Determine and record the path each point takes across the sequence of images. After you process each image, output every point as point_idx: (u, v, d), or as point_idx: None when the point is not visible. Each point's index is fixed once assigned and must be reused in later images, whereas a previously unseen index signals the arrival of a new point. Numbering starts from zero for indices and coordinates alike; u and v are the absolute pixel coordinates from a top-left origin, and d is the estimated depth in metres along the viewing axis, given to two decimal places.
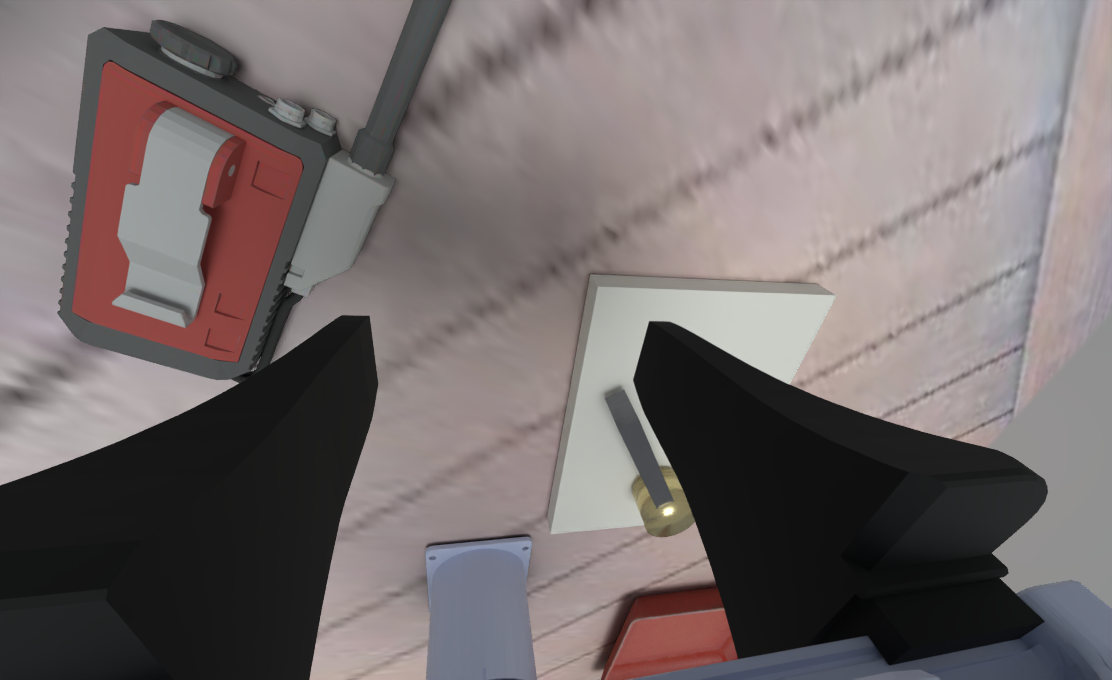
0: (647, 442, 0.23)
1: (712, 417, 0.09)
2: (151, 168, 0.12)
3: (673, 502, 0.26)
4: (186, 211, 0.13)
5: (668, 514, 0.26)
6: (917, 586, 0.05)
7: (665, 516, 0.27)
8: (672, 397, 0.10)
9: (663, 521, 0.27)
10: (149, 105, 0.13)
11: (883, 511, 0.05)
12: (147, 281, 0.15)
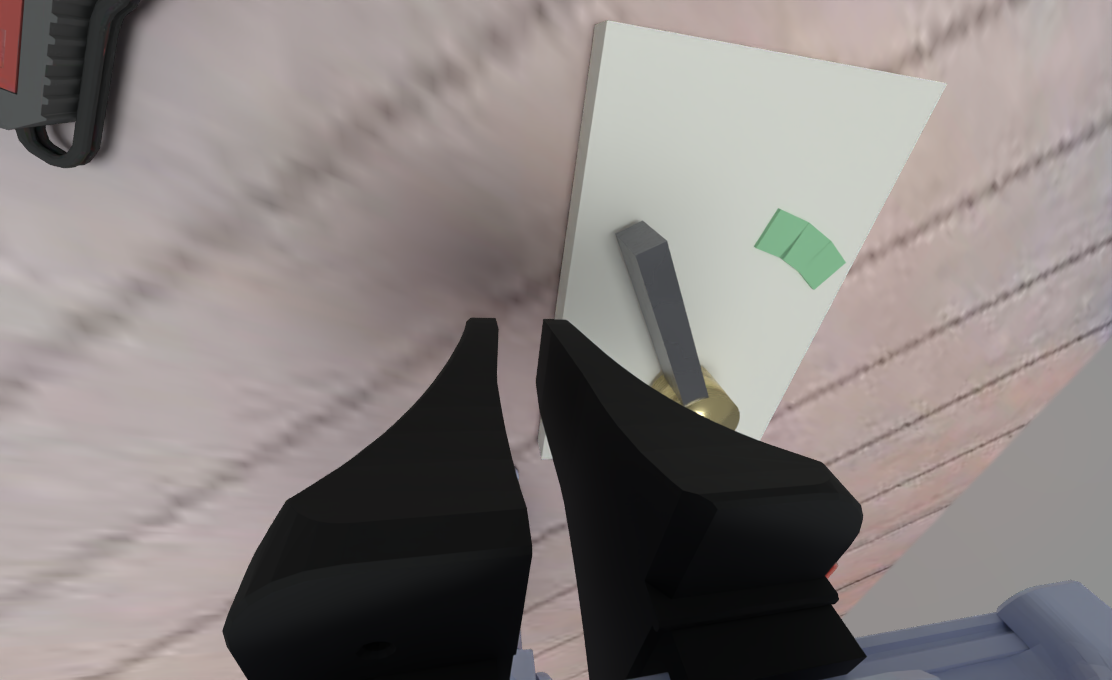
0: (677, 287, 0.16)
1: (578, 422, 0.08)
2: None
3: (707, 398, 0.19)
4: None
5: None
6: (723, 617, 0.05)
7: None
8: (556, 399, 0.09)
9: None
10: None
11: (670, 533, 0.05)
12: None
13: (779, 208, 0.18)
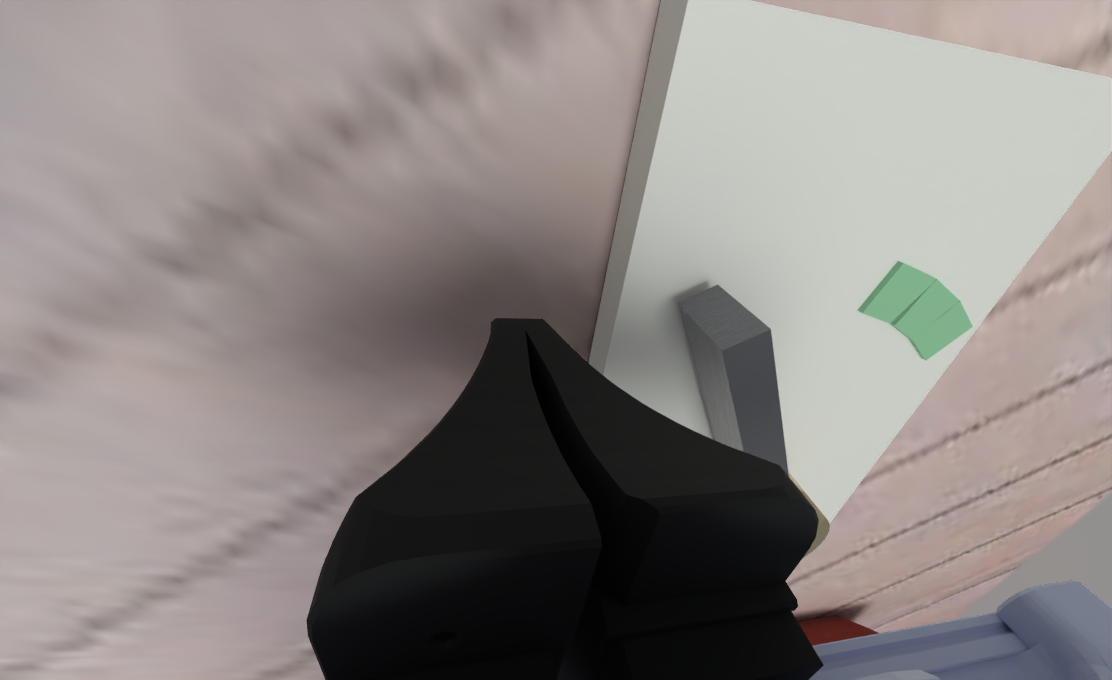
0: (775, 389, 0.11)
1: (547, 423, 0.08)
2: None
3: None
4: None
5: None
6: (676, 625, 0.05)
7: None
8: None
9: None
10: None
11: (618, 539, 0.04)
12: None
13: (900, 261, 0.13)
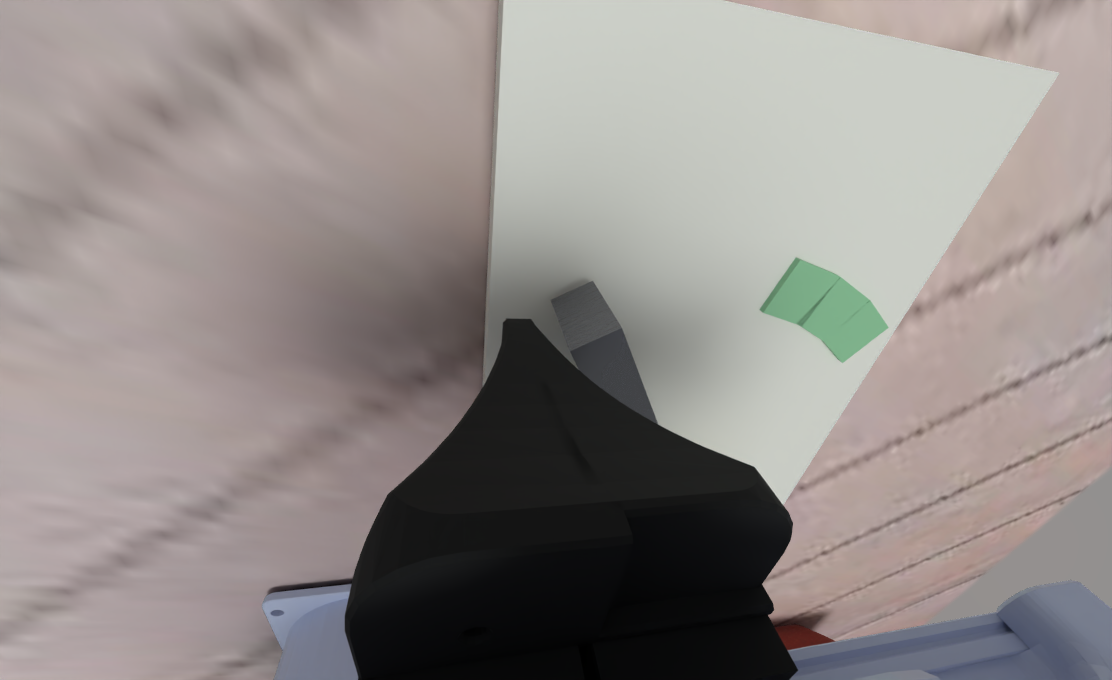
0: (643, 393, 0.10)
1: None
2: None
3: None
4: None
5: None
6: (648, 630, 0.05)
7: None
8: None
9: None
10: None
11: None
12: None
13: (798, 257, 0.12)
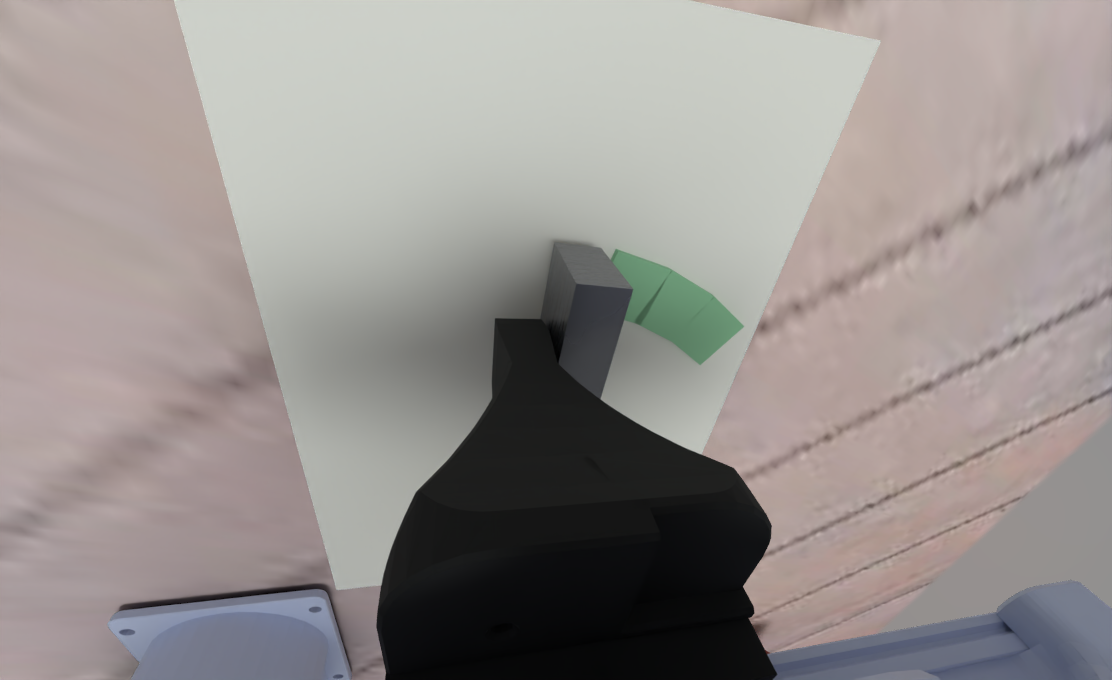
0: (606, 369, 0.09)
1: None
2: None
3: None
4: None
5: None
6: (626, 633, 0.05)
7: None
8: None
9: None
10: None
11: None
12: None
13: (617, 249, 0.11)
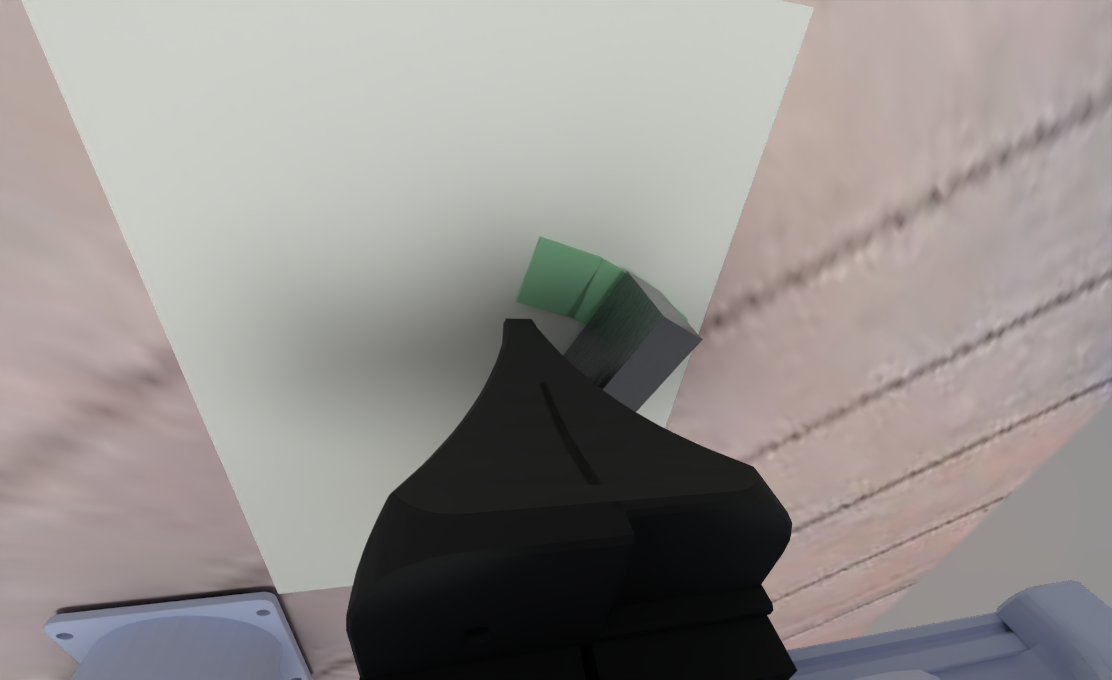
0: (642, 400, 0.10)
1: None
2: None
3: None
4: None
5: None
6: (647, 629, 0.05)
7: None
8: None
9: None
10: None
11: None
12: None
13: (541, 236, 0.10)
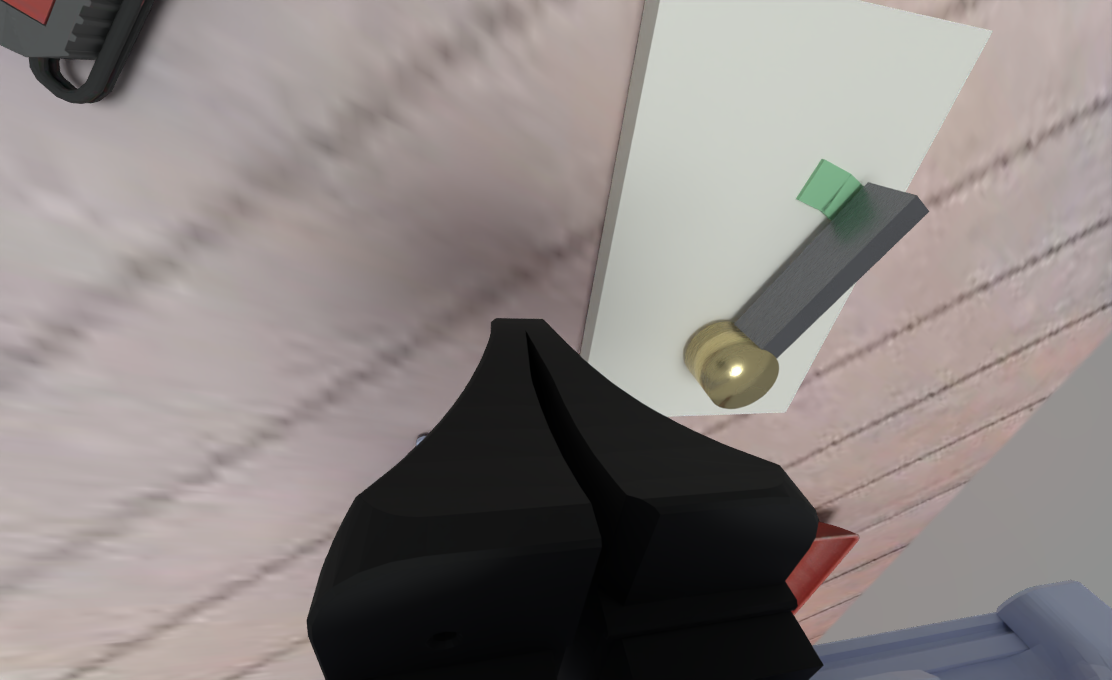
0: (886, 250, 0.18)
1: (547, 423, 0.08)
2: None
3: (774, 358, 0.20)
4: None
5: (755, 368, 0.20)
6: (676, 625, 0.05)
7: (751, 367, 0.20)
8: None
9: (741, 372, 0.20)
10: None
11: (618, 539, 0.04)
12: None
13: (823, 158, 0.18)
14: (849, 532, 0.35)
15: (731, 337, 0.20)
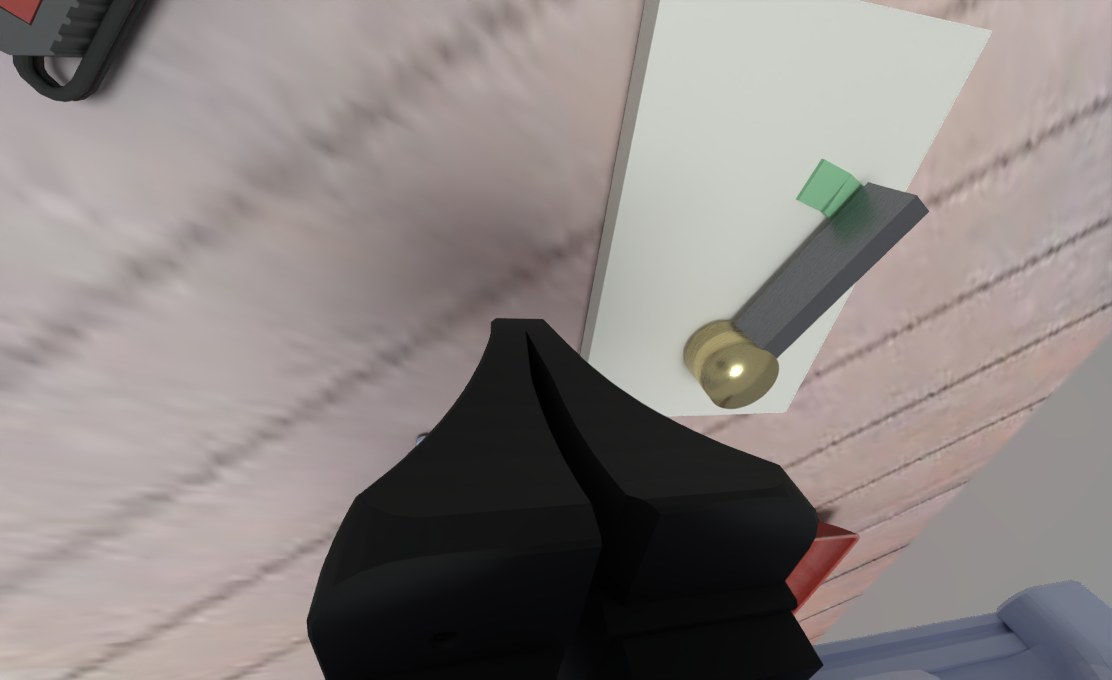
0: (886, 250, 0.18)
1: (547, 423, 0.08)
2: None
3: (774, 358, 0.20)
4: None
5: (755, 368, 0.20)
6: (676, 625, 0.05)
7: (751, 367, 0.20)
8: None
9: (741, 372, 0.20)
10: None
11: (618, 539, 0.04)
12: None
13: (823, 158, 0.18)
14: (849, 532, 0.35)
15: (731, 337, 0.20)
